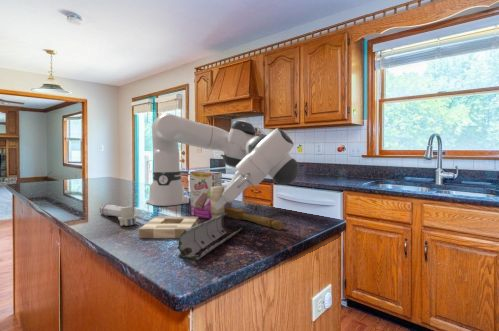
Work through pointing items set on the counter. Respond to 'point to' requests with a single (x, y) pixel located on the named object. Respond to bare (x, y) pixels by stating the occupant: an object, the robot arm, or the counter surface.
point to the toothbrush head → (120, 213)
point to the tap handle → (252, 218)
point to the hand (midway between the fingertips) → (217, 204)
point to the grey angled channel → (202, 237)
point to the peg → (215, 196)
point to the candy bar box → (203, 192)
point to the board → (167, 227)
